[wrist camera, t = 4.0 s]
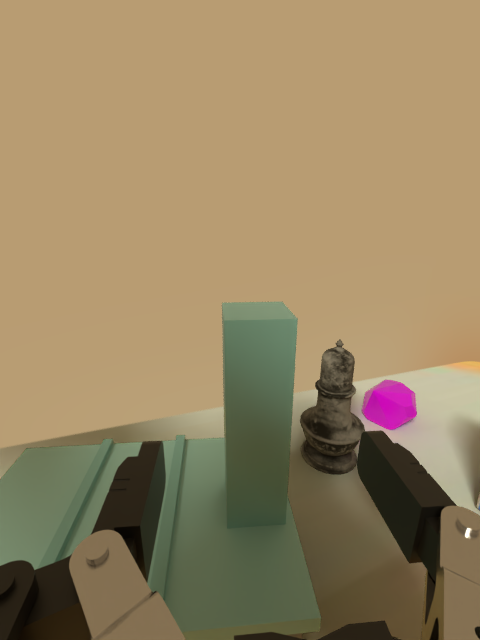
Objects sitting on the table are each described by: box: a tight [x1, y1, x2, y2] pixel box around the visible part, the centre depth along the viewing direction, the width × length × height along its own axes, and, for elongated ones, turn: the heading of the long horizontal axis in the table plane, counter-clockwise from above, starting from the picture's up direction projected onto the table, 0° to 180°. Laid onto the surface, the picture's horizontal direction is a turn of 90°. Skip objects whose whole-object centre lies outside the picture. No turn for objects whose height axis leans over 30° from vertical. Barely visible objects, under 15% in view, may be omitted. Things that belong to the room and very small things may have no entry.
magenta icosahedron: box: [362, 380, 417, 430], centre depth 35 cm, size 5×5×5 cm
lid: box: [0, 302, 321, 640], centre depth 15 cm, size 17×11×12 cm, turn 95°
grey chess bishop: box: [300, 340, 365, 474], centre depth 29 cm, size 6×6×12 cm
